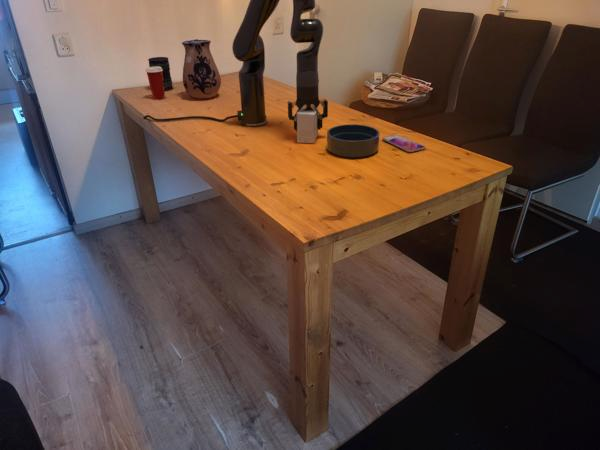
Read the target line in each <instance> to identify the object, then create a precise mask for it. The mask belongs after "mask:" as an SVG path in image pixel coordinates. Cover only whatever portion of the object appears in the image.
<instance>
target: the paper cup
mask: <svg viewBox="0 0 600 450" xmlns="http://www.w3.org/2000/svg"><path fill="white" fill-rule="evenodd" d="M162 71H163V70H162V68H161V67H158V66H154V67H149V66H148V67H146V68H145V72H146V76H147V80H148V84H149V88H150V92H151V95H152V100H156V101H158V100H164V99H165V98H166V93H165V92H166V91H164V82H163V73H162Z"/></svg>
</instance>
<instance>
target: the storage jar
mask: <svg viewBox="0 0 600 450" xmlns="http://www.w3.org/2000/svg"><path fill="white" fill-rule="evenodd" d="M147 61H148V67H154V66H158V67H161V68H162V70H163V71H162V73H163V82H164V91H165V92H168V91H173V89H174V87H173V80H172V79H173V78H172V75H171V67H170V61H169V57H168V56H156V57H149V58H147Z"/></svg>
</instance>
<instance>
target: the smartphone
mask: <svg viewBox="0 0 600 450" xmlns="http://www.w3.org/2000/svg"><path fill="white" fill-rule="evenodd" d="M381 140H382V141H384V142H386V143H389V144H390V145H393V146H395V147H397V148H399V149H400V150H403V151H405V152H407V153H413V152H417V151H422V150H425V149H426V146H424V145H422V144H420V143H417V142H415V141H413V140H412V139H411V140H410V139H408V138H406V137H404V136H401V135H400V134H395V135H394V134H393V135H388V136H383V137H382V138H381Z"/></svg>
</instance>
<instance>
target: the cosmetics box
mask: <svg viewBox="0 0 600 450" xmlns="http://www.w3.org/2000/svg"><path fill="white" fill-rule="evenodd" d="M317 110H318V111H319V106H318V107H317ZM316 112H317V111H313V110H306V111H300V110H299V111H298V113H297V131H296V143H299V144H315V142H316V139H317V138H318V135H319V130H318V116H317V114H316Z"/></svg>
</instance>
